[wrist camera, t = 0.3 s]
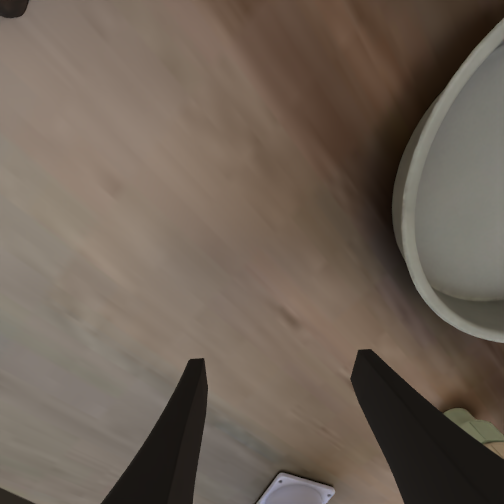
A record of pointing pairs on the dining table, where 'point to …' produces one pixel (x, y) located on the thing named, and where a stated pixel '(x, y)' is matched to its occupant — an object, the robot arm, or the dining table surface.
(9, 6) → the owl
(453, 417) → the celadon bowl
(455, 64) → the dining table surface
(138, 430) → the dining table surface
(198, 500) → the dining table surface
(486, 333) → the cake pan
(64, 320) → the dining table surface
